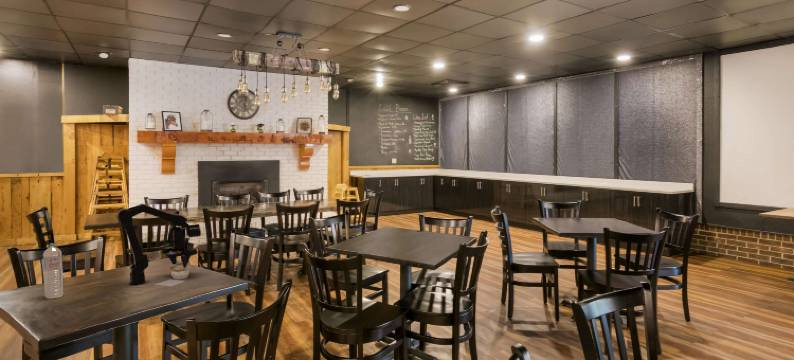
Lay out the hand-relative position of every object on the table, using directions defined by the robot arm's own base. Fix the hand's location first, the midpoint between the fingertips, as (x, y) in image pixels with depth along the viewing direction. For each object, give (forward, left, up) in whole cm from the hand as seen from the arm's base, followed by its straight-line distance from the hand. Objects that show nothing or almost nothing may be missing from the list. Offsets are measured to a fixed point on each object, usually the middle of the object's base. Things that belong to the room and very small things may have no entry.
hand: (180, 267), depth 241 cm
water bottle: (-31, -44, -6) cm, 54 cm away
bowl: (0, 0, -6) cm, 6 cm away
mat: (+3, -10, -6) cm, 12 cm away
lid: (0, 0, 0) cm, 0 cm away
